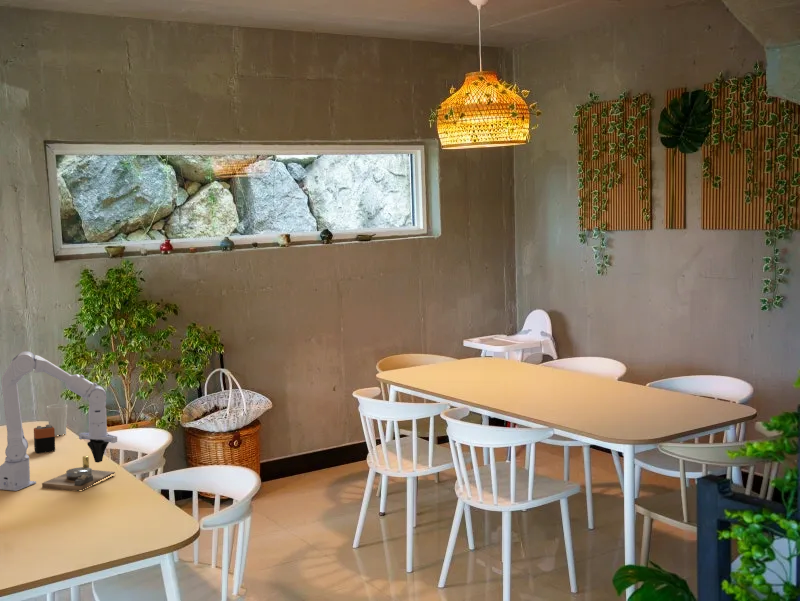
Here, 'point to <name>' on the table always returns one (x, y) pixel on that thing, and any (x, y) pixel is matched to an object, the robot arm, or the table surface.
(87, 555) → the table surface
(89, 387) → the robot arm
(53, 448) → the battery
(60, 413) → the cup
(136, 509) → the table surface
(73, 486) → the board
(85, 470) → the cam
